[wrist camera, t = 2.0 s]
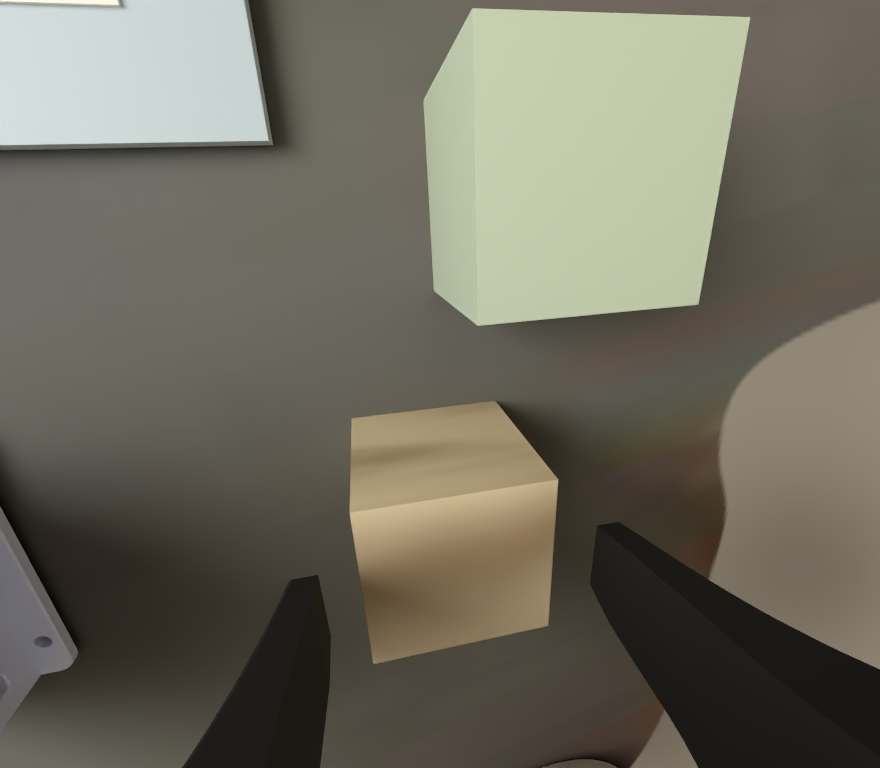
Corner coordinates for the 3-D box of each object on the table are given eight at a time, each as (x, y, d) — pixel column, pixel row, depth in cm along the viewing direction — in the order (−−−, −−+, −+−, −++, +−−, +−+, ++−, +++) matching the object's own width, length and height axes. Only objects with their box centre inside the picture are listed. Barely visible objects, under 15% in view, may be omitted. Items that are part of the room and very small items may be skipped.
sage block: (581, 278, 14) (698, 304, 9) (433, 290, 13) (477, 325, 8) (595, 100, 12) (750, 16, 7) (423, 100, 11) (472, 8, 6)
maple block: (494, 514, 16) (547, 625, 12) (368, 535, 16) (373, 664, 11) (494, 400, 15) (558, 479, 10) (351, 417, 14) (349, 512, 9)
